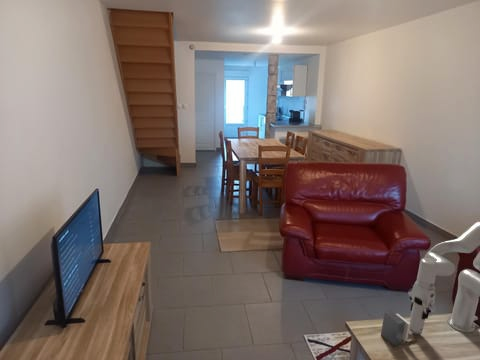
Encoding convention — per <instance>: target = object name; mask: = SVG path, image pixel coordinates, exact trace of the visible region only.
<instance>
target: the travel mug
mask: <svg viewBox="0 0 480 360" xmlns="http://www.w3.org/2000/svg"><path fill="white" fill-rule="evenodd" d="M423 312H424V307H423V306H422V301H421V300H419V299H417V298H416V297H415V299H414V303H413V308H412V311H411V313H410V320H409V323H410V328H409V332H411V333H412V334H415V335H421V334H423V331H424V327H425V321H426V319H424V320H423V319H422V315H423Z"/></svg>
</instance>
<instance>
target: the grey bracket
mask: <svg viewBox="0 0 480 360" xmlns="http://www.w3.org/2000/svg"><path fill="white" fill-rule="evenodd" d="M396 314H397V313H395V312H394V311H392V310H388V311H387V310H386V311H384V315H383V320H382V324H381V325H382V327H381V332H380V337H381V338H382V339H383V340H385V341H386V342H387V344H389V346H391V347H392V348H393V349H396V348H400V347H403V346H406V345H410V344H412V343H416V342H417V338H416V337H414V336H413V335H412V334H411V333H408V338H407V341H408V343H407V342H406V341H404V340H403V339H402V336H403V331H404V326H405V321H403V320H402V319H401V318H400V317H399V316H397V315H396Z"/></svg>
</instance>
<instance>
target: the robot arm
mask: <svg viewBox="0 0 480 360" xmlns="http://www.w3.org/2000/svg"><path fill="white" fill-rule="evenodd" d="M479 246H480V221H476V222H474V223H473V224H472V225H471V226H469V227H468V228H467V229H466V230H465V231H464V232H463V233H461V234H460V235H459V236H457V238H455V239H449V240H446V241H443V242H440V243H439V242H438V243H437V244H435V245H434V246H433V247H432V248H430V250H429V251H427V252H426V253H425V255H424V257H423V258H421V259H420V260H419V267H418V270H417V276H416V281H415V282H414V284H413V285H412V288H411V291H408V292H407V294H408V297H409V299H410V311H411V312H412V308H413V303H414V299H415V297H416V298H417V299H419V300H421V301H422V306H423V307H424V312H423V315H422V319H423V320H424V319H425V320H427V319H428V318H429V315H430V313H433V312H436V311H437V310H436V307H435V299H436V286H435V281H436V278H437V276H445V277H447V276H451V275H453V274H454V273H455V271H456V265H455V264H454V263H453V262H452V261H450V260H449V259H447V258H446V257H444V256H443V255H444V254H447V253H455V252H456V253H462V254H463V253H465V254H471V253H473V252H474V251H475V250H476V249H477V248H478V247H479ZM472 265H473V267H474V268H475V269H476V270H478V271H479V272H480V251H479V252H478V253H477V254H476V257H474V259H473V263H472ZM479 272H477V271H475V270H473V269H469V268H464V269H463V270H461V271H460V273H459V275H458V279H457V280H458V282H457V283H458V284H457V285H458V286H457V291H456V292H457V293H456V296H455V300H454V303H453V304H454V305H453V308H452V313H451V315H449V316H447V319H446V322H447V324H448V325H449V326H450V327H452V328H453V329H454V330H457V331H459V332H463V333H473V332H474V331H475V329H476V325H474V323H473V322H474V321H477V320H479V318H478V316H477V315H476V312H477V307H478V303H479V300H480V299H479V298H480V273H479Z"/></svg>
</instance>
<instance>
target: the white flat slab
mask: <svg viewBox="0 0 480 360" xmlns="http://www.w3.org/2000/svg"><path fill="white" fill-rule="evenodd" d="M395 314H396V315H397V316H399V317H400V318H401V319H402V320H403V321H405V326H404V331H403V336H402V339H403V340H404V341H406V342H407V343H408V341H407V338H408V333H409V332H410V330H409V328H410V321H408V320H406V319H405V318H404V317H403V316H402V315H400V314H399V313H395ZM409 334H410V333H409Z"/></svg>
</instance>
